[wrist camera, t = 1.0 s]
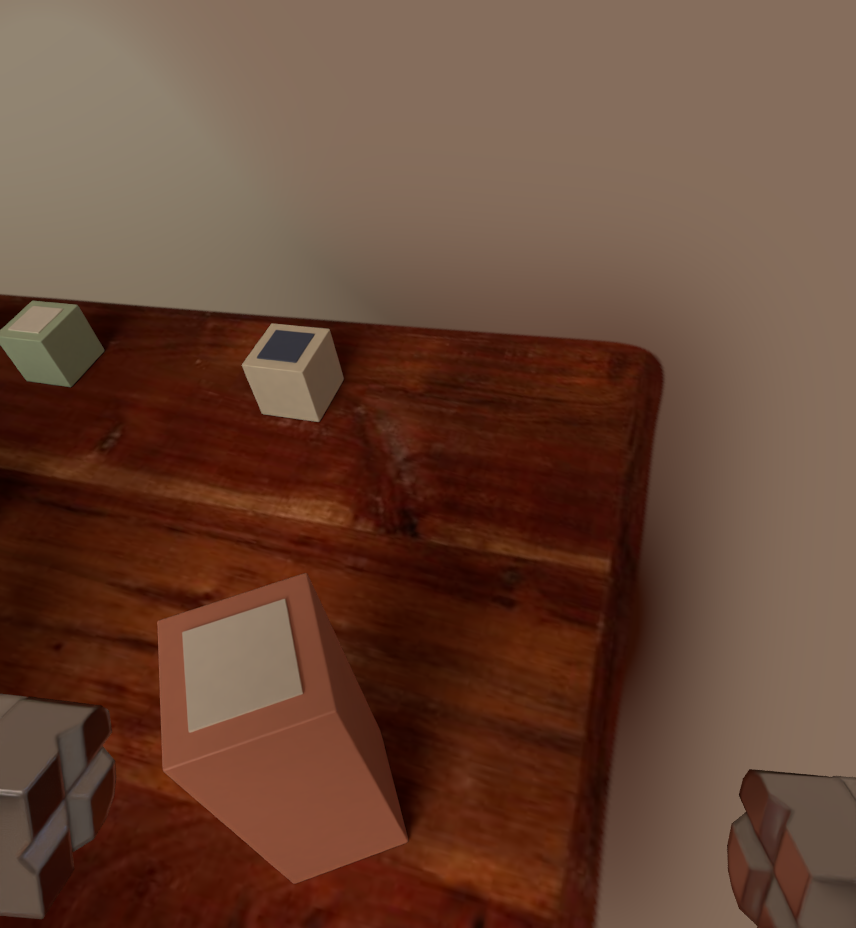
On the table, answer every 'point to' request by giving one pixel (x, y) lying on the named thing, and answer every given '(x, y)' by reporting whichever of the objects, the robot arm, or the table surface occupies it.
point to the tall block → (276, 730)
